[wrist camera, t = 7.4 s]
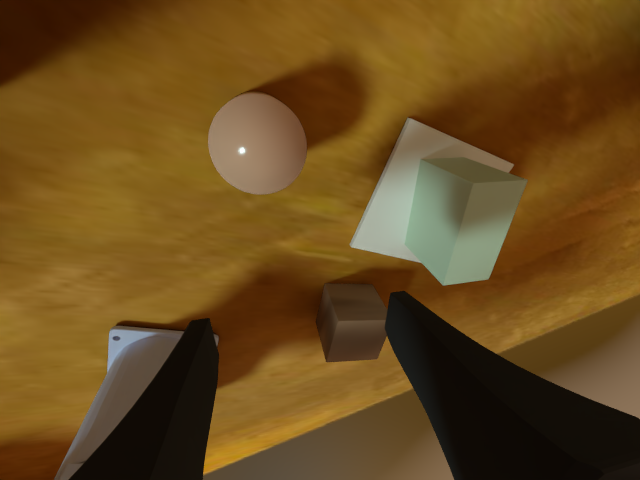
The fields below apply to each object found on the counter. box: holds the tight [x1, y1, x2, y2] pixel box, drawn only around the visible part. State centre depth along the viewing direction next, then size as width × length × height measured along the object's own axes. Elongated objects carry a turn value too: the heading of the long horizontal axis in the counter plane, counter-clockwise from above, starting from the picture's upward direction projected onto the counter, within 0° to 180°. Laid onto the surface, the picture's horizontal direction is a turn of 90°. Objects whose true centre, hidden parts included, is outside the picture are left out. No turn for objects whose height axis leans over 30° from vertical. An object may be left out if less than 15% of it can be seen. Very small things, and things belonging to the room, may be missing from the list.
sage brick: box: [405, 157, 528, 286], centre depth 19 cm, size 7×4×6 cm, turn 179°
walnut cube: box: [316, 283, 387, 362], centre depth 24 cm, size 4×4×4 cm
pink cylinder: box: [208, 91, 307, 194], centre depth 15 cm, size 4×4×5 cm
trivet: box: [350, 118, 514, 263], centre depth 22 cm, size 10×10×1 cm
